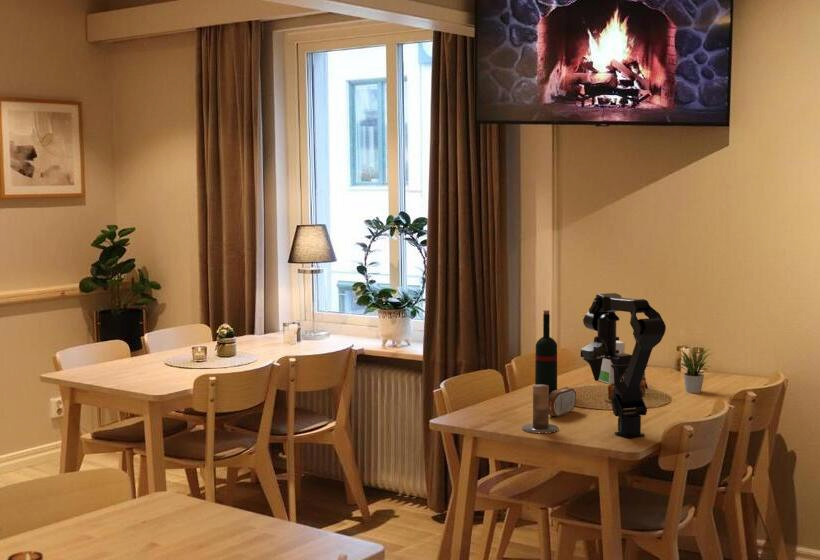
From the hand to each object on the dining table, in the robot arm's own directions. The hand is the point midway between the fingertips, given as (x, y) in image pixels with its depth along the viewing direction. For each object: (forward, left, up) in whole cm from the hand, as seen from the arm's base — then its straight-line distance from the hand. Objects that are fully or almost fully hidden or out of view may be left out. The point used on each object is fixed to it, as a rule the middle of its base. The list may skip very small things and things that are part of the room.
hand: (606, 383), depth 321 cm
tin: (+18, +3, -13) cm, 23 cm away
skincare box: (+49, -45, -13) cm, 68 cm away
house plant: (+19, -59, -13) cm, 63 cm away
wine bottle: (+45, -12, -13) cm, 48 cm away
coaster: (+6, +21, -13) cm, 25 cm away
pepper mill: (+6, +21, -12) cm, 25 cm away
